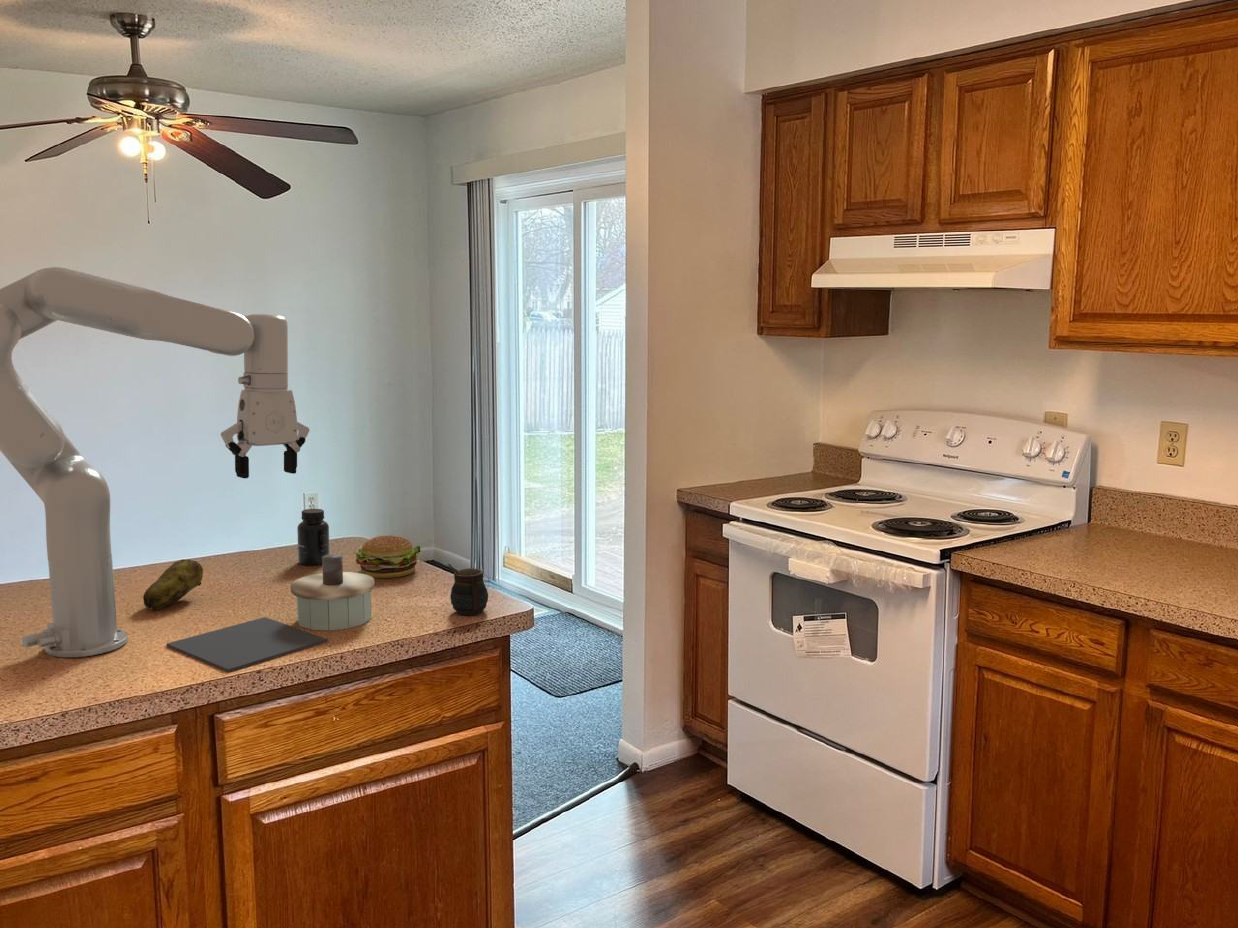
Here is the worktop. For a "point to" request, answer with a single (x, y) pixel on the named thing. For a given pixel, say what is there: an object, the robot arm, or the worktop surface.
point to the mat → (246, 643)
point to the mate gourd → (468, 591)
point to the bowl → (334, 612)
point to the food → (387, 557)
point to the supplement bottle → (312, 537)
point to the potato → (173, 584)
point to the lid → (332, 582)
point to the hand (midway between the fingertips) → (266, 475)
